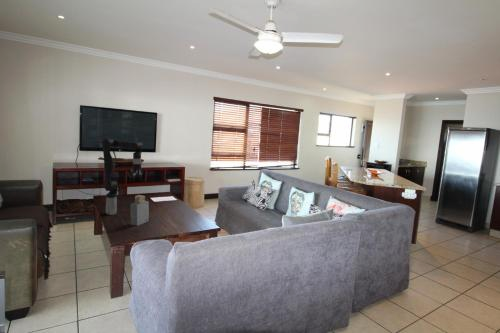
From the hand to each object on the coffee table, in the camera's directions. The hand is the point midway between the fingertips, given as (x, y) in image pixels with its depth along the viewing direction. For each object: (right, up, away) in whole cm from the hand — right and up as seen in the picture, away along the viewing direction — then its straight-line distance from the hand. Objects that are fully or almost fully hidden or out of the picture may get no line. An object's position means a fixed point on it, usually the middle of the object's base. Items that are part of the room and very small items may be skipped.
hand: (136, 179), depth 277 cm
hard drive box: (+6, -41, -8) cm, 42 cm away
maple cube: (+7, -21, -11) cm, 25 cm away
